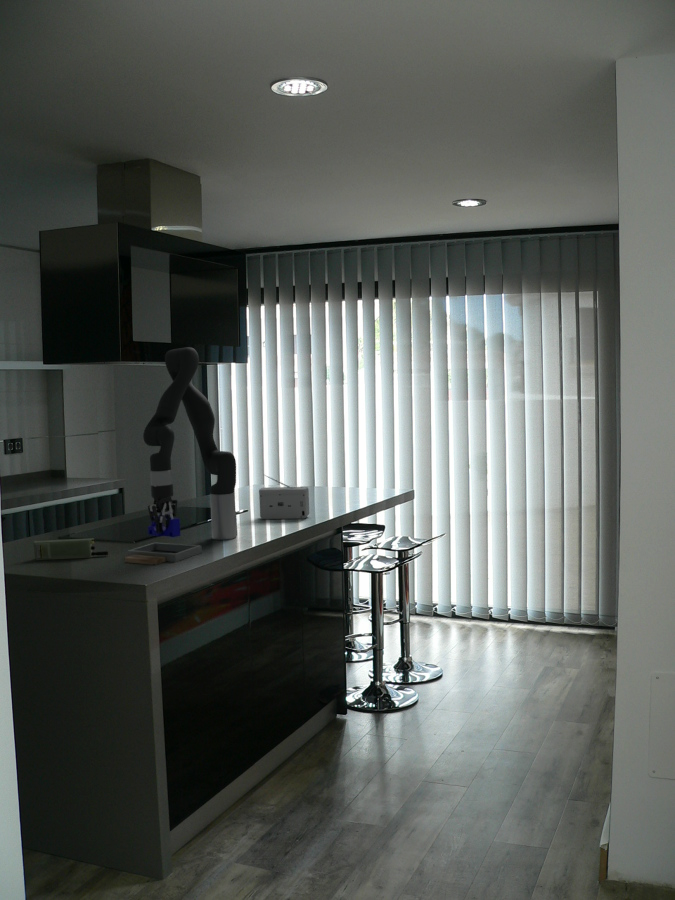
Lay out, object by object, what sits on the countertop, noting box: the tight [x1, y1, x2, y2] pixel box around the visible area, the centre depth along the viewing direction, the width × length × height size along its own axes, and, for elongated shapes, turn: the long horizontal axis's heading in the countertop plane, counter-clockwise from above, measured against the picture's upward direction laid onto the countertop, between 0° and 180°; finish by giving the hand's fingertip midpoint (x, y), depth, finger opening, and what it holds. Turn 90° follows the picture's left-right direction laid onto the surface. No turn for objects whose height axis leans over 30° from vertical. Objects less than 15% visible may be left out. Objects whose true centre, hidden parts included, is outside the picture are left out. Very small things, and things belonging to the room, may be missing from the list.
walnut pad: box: [124, 555, 166, 565], centre depth 287 cm, size 5×13×2 cm, turn 64°
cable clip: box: [147, 516, 181, 538], centre depth 296 cm, size 12×4×6 cm, turn 49°
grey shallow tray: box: [126, 541, 203, 563], centre depth 297 cm, size 15×20×2 cm
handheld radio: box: [33, 538, 109, 561], centre depth 298 cm, size 7×3×25 cm
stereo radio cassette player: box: [258, 474, 310, 520], centre depth 366 cm, size 21×8×20 cm, turn 84°
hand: (164, 531), depth 297 cm, fingers closed on cable clip, 4 cm apart
